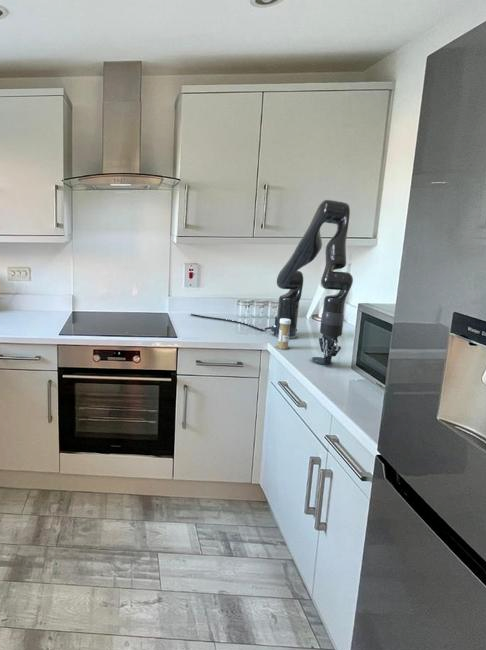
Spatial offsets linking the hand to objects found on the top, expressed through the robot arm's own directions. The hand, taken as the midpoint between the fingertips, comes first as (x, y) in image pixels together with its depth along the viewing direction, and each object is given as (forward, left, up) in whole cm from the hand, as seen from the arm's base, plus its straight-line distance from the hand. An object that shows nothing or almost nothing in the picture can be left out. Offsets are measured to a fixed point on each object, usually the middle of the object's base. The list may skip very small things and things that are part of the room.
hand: (327, 364), depth 166 cm
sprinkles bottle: (-23, +8, -1) cm, 25 cm away
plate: (-4, +3, -1) cm, 5 cm away
